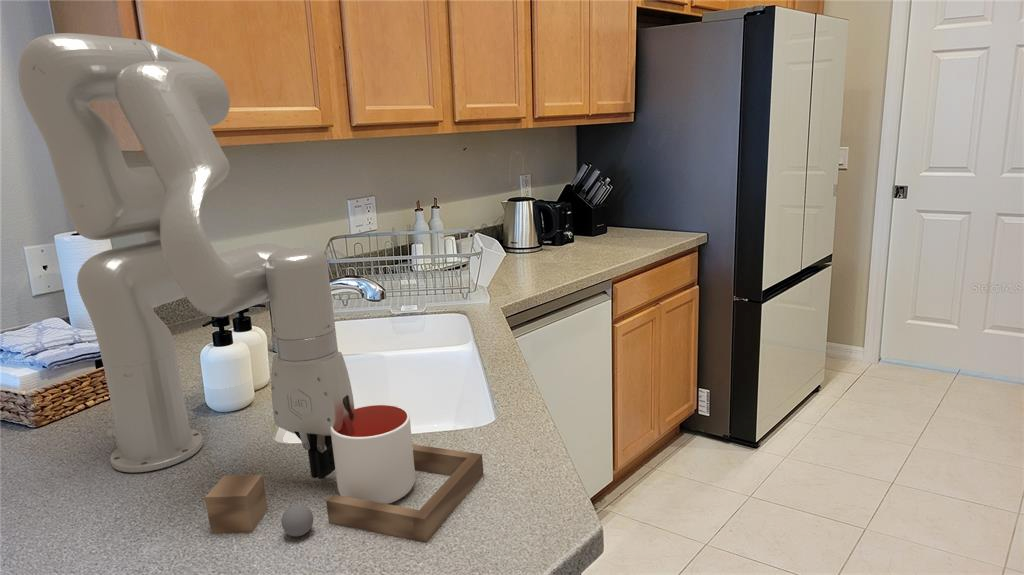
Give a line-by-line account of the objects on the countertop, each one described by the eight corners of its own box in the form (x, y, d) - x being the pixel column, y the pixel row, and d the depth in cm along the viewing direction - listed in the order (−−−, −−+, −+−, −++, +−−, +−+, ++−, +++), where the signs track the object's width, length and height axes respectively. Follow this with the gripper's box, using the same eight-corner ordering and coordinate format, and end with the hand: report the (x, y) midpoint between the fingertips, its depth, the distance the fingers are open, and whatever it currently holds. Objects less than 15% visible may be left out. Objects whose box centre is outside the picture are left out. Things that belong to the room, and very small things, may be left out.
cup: (417, 468, 96) (411, 401, 94) (415, 507, 87) (407, 433, 84) (344, 475, 95) (336, 407, 93) (333, 515, 86) (324, 441, 83)
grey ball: (277, 539, 81) (272, 512, 80) (297, 522, 85) (293, 496, 84) (302, 545, 80) (298, 517, 79) (321, 527, 83) (317, 501, 82)
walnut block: (211, 534, 83) (204, 497, 82) (229, 511, 88) (223, 475, 87) (252, 533, 83) (246, 496, 82) (267, 510, 88) (262, 474, 87)
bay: (328, 522, 84) (325, 500, 83) (397, 461, 99) (395, 441, 98) (426, 542, 79) (424, 519, 78) (483, 474, 94) (482, 454, 93)
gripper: (240, 349, 88) (260, 479, 93) (338, 359, 83) (354, 496, 87) (279, 332, 95) (297, 453, 100) (372, 339, 90) (386, 468, 94)
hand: (323, 473), depth 93 cm, fingers closed
